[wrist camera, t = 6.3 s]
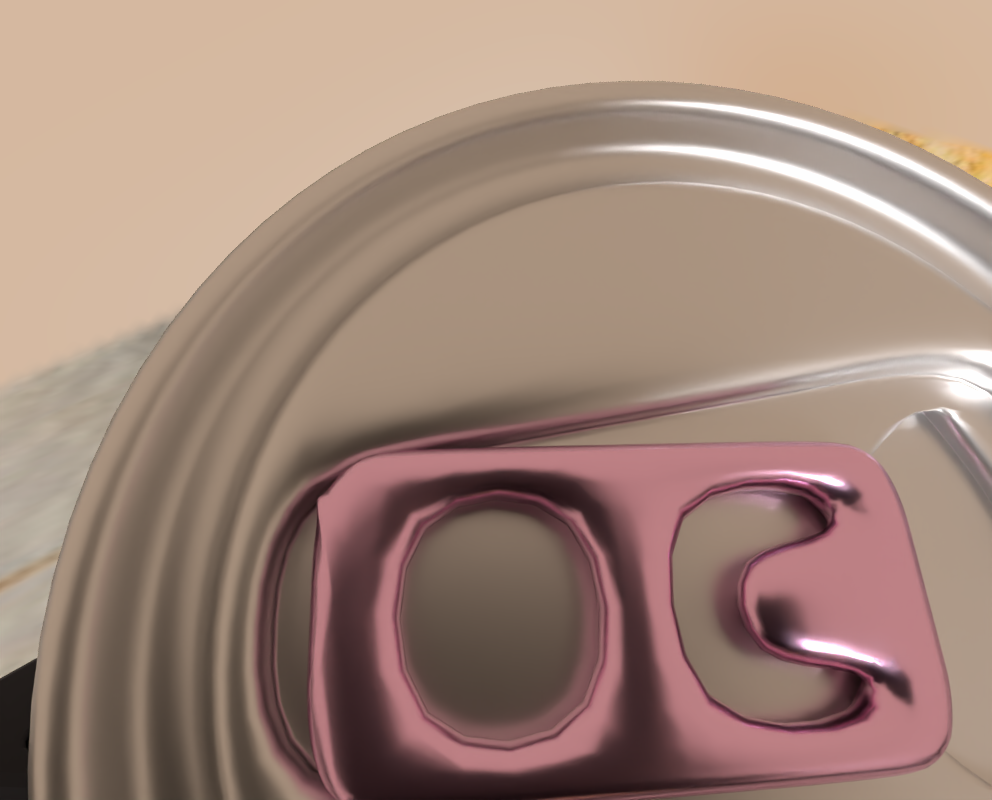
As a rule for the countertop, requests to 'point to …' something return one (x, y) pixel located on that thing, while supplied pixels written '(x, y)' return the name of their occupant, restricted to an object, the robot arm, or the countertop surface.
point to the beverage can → (554, 478)
